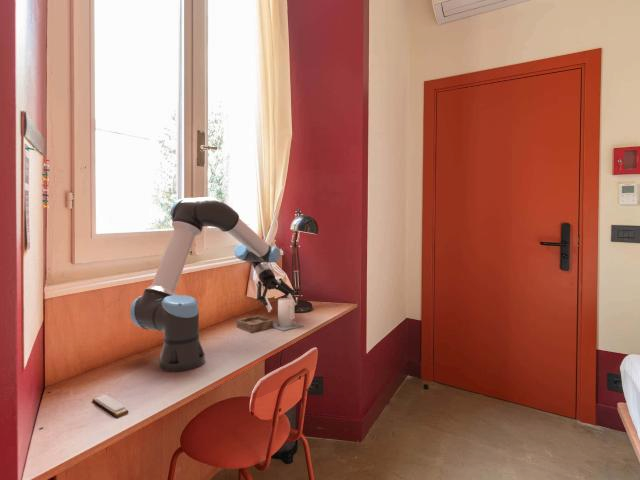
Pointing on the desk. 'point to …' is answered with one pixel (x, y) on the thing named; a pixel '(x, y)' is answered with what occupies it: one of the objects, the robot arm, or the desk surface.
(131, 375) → the desk surface
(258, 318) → the holder
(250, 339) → the desk surface
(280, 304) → the white rounded piece
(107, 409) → the harmonica
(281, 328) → the mat
